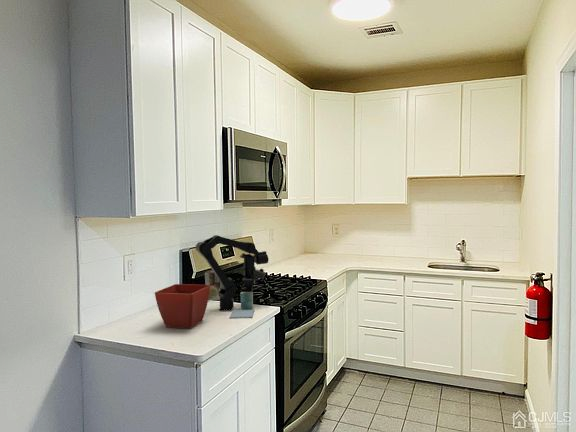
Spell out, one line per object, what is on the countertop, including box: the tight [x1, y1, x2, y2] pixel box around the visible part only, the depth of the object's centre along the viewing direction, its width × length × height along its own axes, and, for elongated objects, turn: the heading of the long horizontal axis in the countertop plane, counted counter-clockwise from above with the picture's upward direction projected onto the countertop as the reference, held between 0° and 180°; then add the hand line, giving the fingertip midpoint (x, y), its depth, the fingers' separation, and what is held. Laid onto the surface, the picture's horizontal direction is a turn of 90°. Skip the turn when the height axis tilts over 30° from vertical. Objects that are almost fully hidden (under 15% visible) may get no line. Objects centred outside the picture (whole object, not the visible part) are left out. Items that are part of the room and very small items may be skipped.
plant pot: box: [154, 283, 210, 329], centre depth 196 cm, size 19×19×17 cm
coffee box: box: [204, 270, 222, 301], centre depth 242 cm, size 9×6×16 cm
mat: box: [229, 309, 255, 319], centre depth 210 cm, size 11×12×1 cm
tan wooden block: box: [239, 291, 254, 310], centre depth 218 cm, size 6×3×9 cm, turn 90°
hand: (250, 294), depth 227 cm, fingers closed
